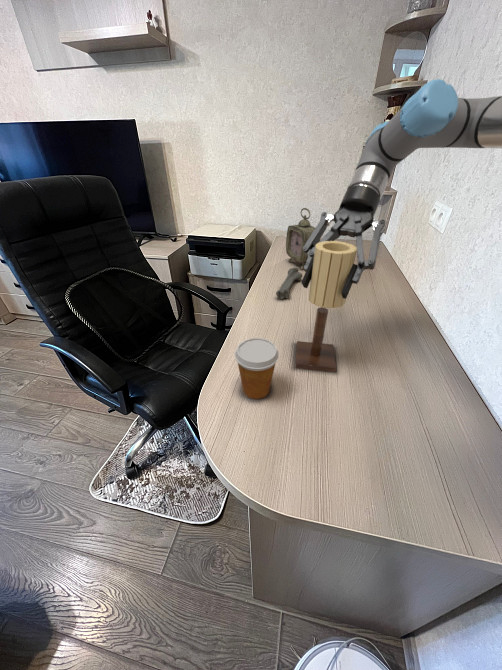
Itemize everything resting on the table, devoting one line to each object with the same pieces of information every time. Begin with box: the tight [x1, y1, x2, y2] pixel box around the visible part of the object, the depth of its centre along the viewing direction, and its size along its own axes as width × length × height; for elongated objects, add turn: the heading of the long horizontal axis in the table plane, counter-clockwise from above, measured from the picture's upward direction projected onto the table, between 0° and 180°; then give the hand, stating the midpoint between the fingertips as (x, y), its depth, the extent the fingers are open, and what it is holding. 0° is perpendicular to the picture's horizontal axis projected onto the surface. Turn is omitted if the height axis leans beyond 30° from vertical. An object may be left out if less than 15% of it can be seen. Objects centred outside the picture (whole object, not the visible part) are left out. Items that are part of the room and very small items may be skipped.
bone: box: [275, 267, 303, 300], centre depth 109 cm, size 22×6×6 cm, turn 159°
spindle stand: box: [295, 307, 337, 373], centre depth 71 cm, size 10×10×15 cm
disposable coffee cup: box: [234, 337, 280, 400], centre depth 62 cm, size 10×10×12 cm
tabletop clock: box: [285, 207, 321, 270], centre depth 125 cm, size 14×9×25 cm, turn 25°
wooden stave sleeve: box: [308, 240, 357, 309], centre depth 59 cm, size 8×8×12 cm
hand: (323, 290), depth 58 cm, fingers closed on wooden stave sleeve, 8 cm apart
